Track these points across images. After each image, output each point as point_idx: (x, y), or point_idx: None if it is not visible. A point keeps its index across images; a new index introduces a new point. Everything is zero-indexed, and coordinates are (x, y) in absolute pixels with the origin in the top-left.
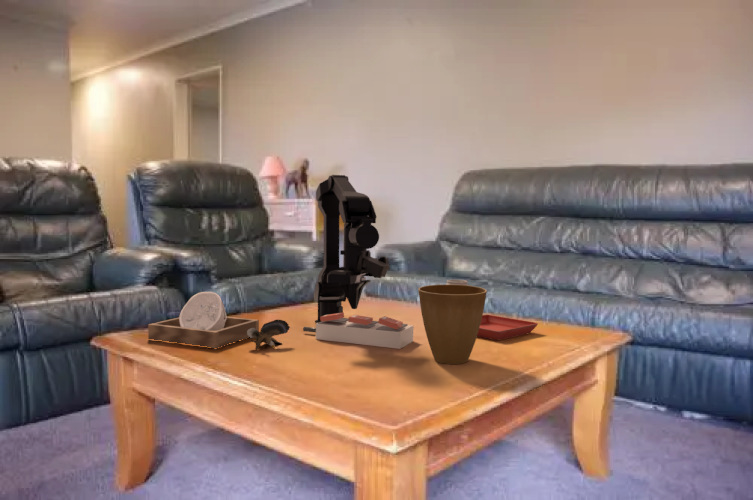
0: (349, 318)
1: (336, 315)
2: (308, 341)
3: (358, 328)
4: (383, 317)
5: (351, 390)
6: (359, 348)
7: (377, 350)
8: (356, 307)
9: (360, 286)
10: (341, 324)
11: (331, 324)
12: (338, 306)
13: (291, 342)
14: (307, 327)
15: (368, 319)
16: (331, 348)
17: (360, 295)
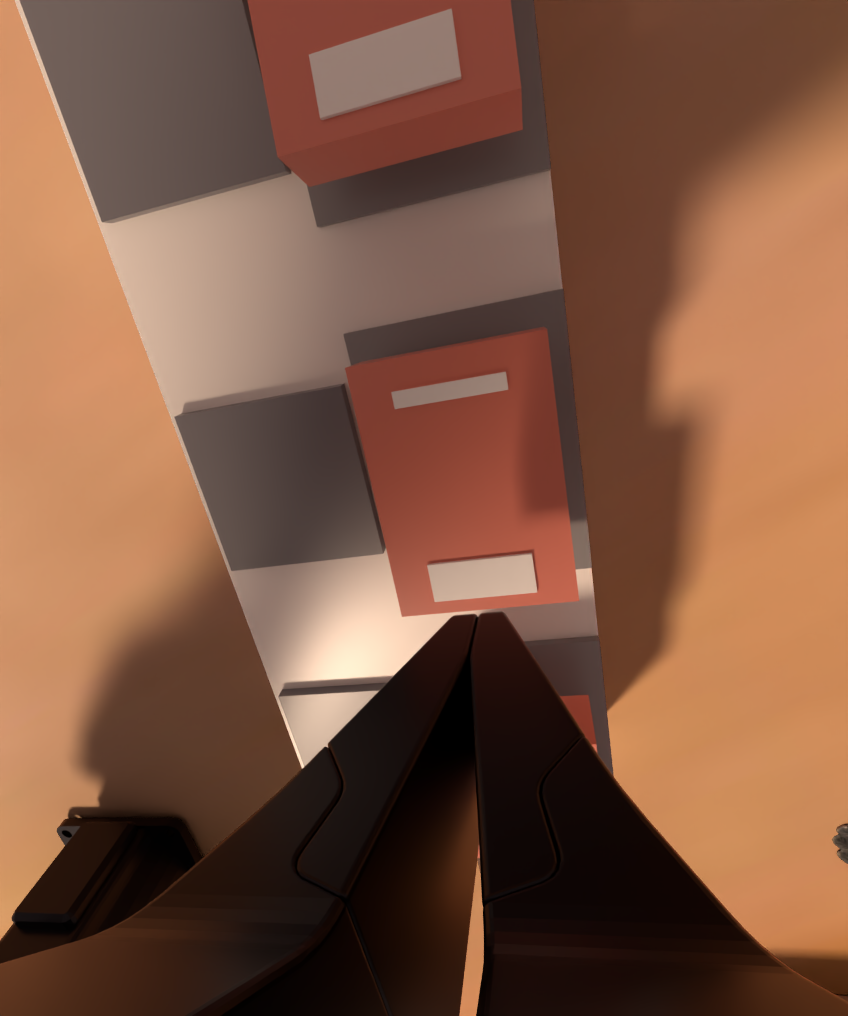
0: (576, 583)
1: (595, 742)
2: (691, 723)
3: (573, 417)
4: (382, 90)
5: None
6: (716, 265)
7: (708, 37)
8: (473, 620)
9: (537, 996)
10: (534, 642)
11: (605, 705)
12: (50, 931)
13: (781, 789)
14: None
15: (494, 341)
16: (838, 474)
17: (348, 743)
